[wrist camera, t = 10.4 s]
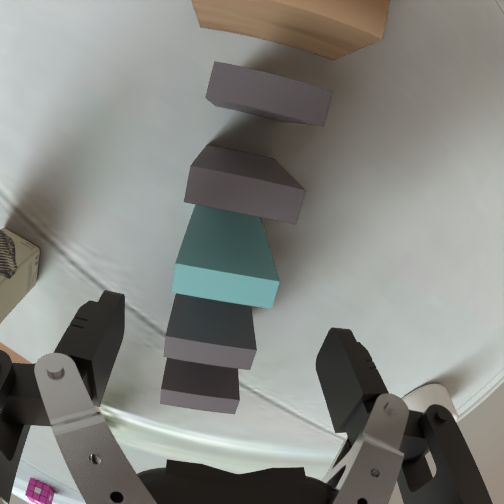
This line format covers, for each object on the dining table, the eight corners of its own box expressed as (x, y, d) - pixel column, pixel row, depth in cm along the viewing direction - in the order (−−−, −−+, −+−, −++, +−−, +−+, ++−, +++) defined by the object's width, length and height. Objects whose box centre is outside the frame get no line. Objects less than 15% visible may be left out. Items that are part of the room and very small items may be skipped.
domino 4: (185, 256, 25) (165, 336, 16) (246, 267, 26) (256, 350, 17) (183, 274, 26) (163, 356, 17) (242, 284, 27) (250, 370, 18)
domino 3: (195, 204, 24) (175, 263, 14) (260, 216, 24) (279, 281, 15) (192, 223, 24) (171, 292, 15) (255, 235, 25) (271, 308, 16)
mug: (432, 371, 35) (452, 403, 29) (451, 393, 38) (468, 420, 32) (362, 423, 38) (374, 456, 32) (390, 437, 41) (402, 465, 35)
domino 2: (206, 144, 22) (190, 165, 13) (274, 159, 23) (305, 190, 13) (202, 165, 22) (183, 202, 13) (268, 179, 23) (296, 224, 14)
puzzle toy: (50, 486, 47) (45, 503, 42) (54, 492, 49) (50, 509, 44) (30, 477, 46) (25, 494, 41) (35, 484, 48) (30, 501, 43)
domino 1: (220, 85, 20) (214, 61, 11) (289, 101, 21) (332, 91, 12) (215, 106, 21) (205, 97, 12) (283, 121, 21) (323, 126, 12)
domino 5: (178, 302, 27) (161, 388, 18) (235, 312, 28) (239, 400, 19) (176, 317, 28) (160, 403, 18) (231, 326, 28) (234, 414, 19)
